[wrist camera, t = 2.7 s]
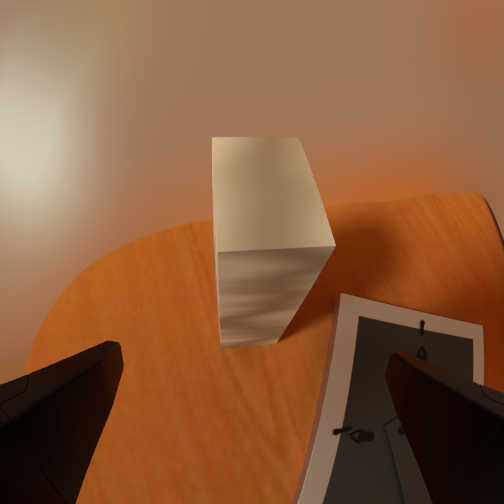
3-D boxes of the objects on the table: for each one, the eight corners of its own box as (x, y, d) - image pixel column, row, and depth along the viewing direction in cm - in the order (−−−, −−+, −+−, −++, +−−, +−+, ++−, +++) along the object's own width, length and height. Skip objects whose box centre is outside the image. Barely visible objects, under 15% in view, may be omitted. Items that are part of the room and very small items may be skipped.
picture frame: (440, 532, 12) (469, 332, 23) (459, 537, 10) (487, 322, 21) (274, 545, 13) (332, 302, 24) (281, 560, 10) (344, 288, 21)
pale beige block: (221, 348, 20) (217, 252, 9) (215, 274, 24) (211, 137, 13) (276, 343, 21) (335, 245, 10) (265, 271, 24) (298, 138, 13)
